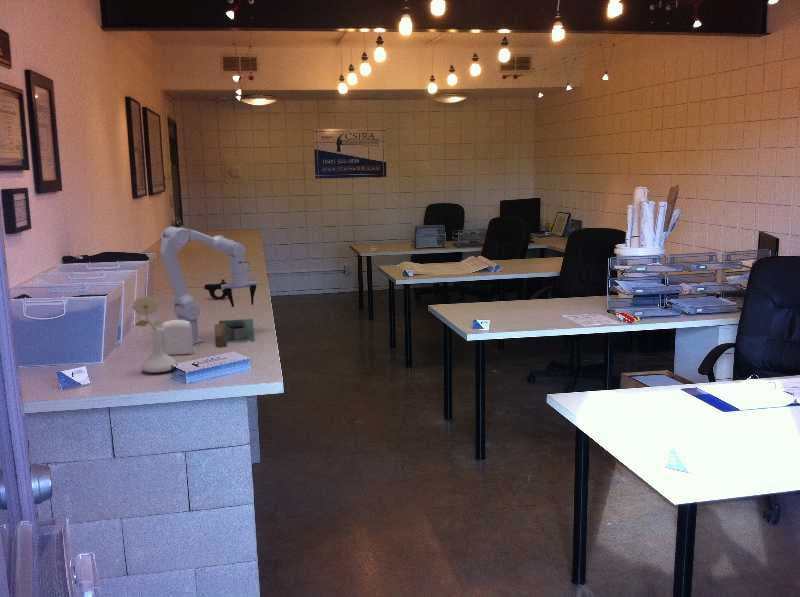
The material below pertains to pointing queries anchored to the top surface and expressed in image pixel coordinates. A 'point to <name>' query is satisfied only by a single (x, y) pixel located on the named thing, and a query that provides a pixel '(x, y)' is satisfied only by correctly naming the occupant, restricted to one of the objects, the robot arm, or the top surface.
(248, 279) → the ink cartridge box
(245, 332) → the cup bracket
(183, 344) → the photo printer
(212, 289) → the controller
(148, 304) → the flower in vase
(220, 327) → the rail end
